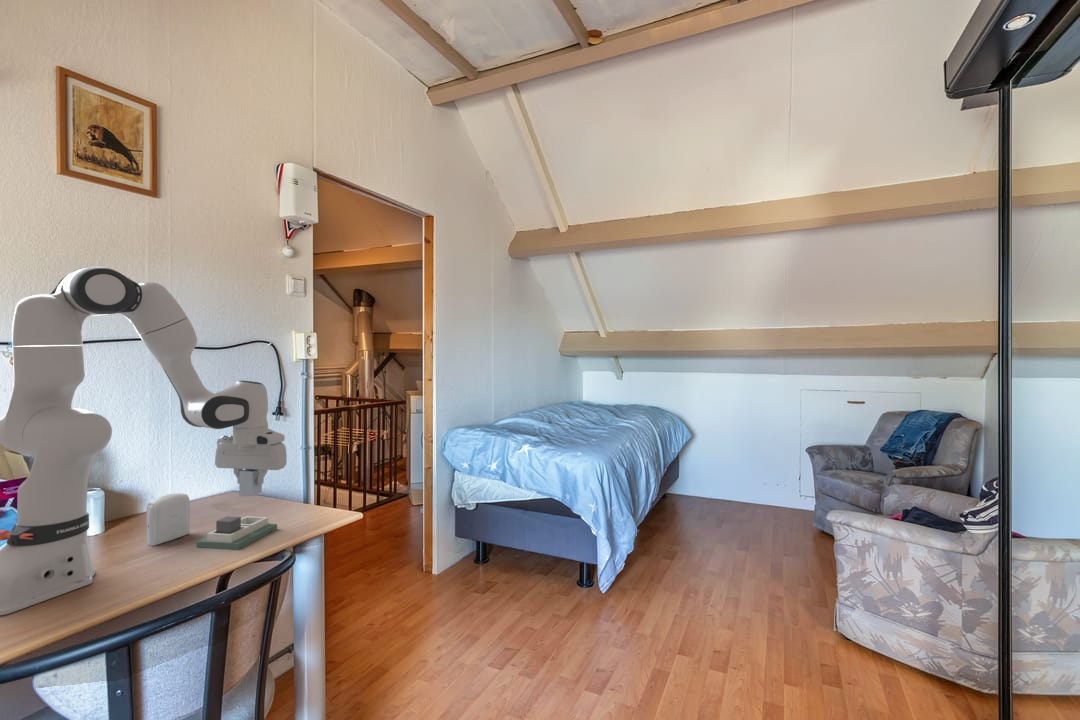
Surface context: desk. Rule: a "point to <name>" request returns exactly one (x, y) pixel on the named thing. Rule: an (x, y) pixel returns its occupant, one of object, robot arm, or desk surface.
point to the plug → (249, 482)
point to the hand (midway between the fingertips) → (250, 483)
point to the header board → (236, 532)
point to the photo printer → (168, 518)
